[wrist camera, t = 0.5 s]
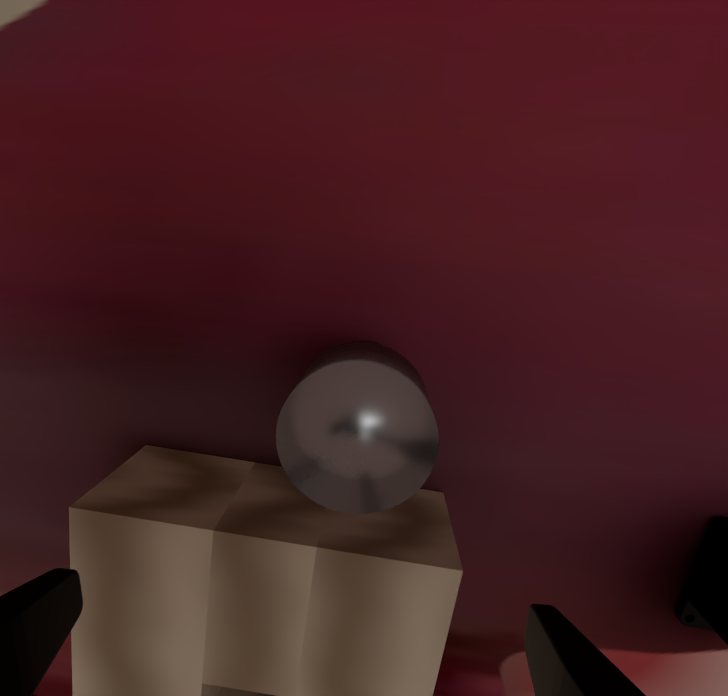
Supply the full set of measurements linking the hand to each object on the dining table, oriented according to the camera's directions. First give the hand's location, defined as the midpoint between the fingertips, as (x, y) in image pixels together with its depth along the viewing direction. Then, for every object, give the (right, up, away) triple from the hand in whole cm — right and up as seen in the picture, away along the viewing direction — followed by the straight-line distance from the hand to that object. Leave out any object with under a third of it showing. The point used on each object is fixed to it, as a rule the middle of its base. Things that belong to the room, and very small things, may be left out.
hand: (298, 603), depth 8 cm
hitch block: (-4, -11, +16) cm, 20 cm away
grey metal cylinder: (+1, +4, +12) cm, 13 cm away
